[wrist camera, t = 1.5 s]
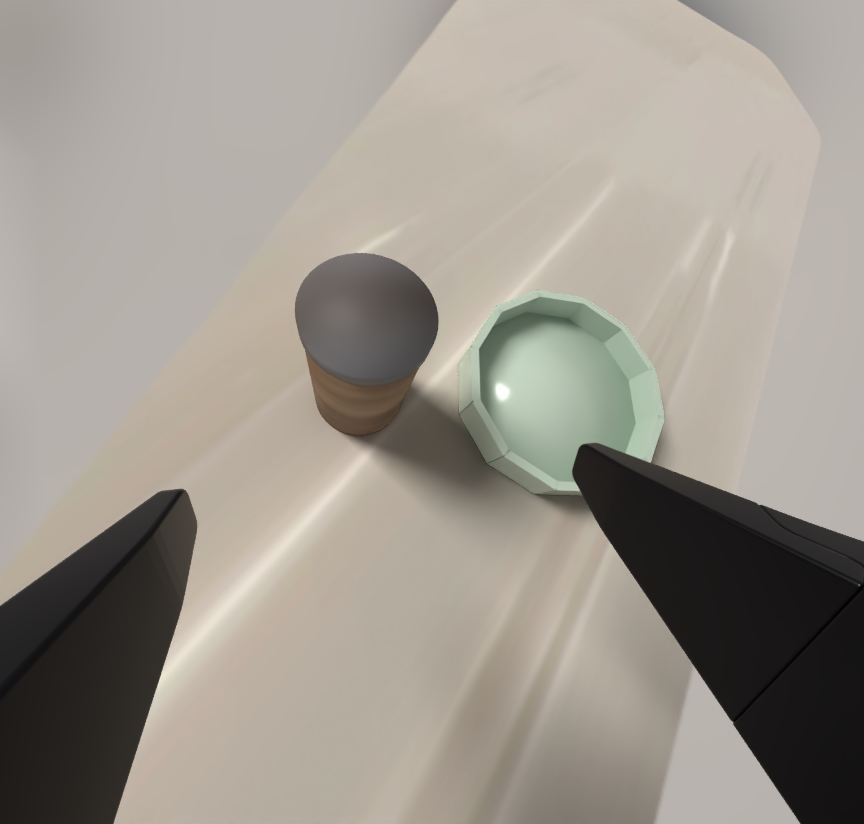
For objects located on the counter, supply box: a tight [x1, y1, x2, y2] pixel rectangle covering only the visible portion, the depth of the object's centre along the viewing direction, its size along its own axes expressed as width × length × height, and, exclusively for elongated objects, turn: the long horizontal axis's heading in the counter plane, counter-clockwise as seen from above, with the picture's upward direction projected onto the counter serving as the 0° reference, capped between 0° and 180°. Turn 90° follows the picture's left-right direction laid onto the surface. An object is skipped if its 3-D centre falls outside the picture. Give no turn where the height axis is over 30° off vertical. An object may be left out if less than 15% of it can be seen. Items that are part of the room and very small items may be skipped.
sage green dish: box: [458, 290, 665, 496], centre depth 24 cm, size 13×13×2 cm
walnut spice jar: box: [295, 253, 438, 435], centre depth 18 cm, size 5×5×9 cm
